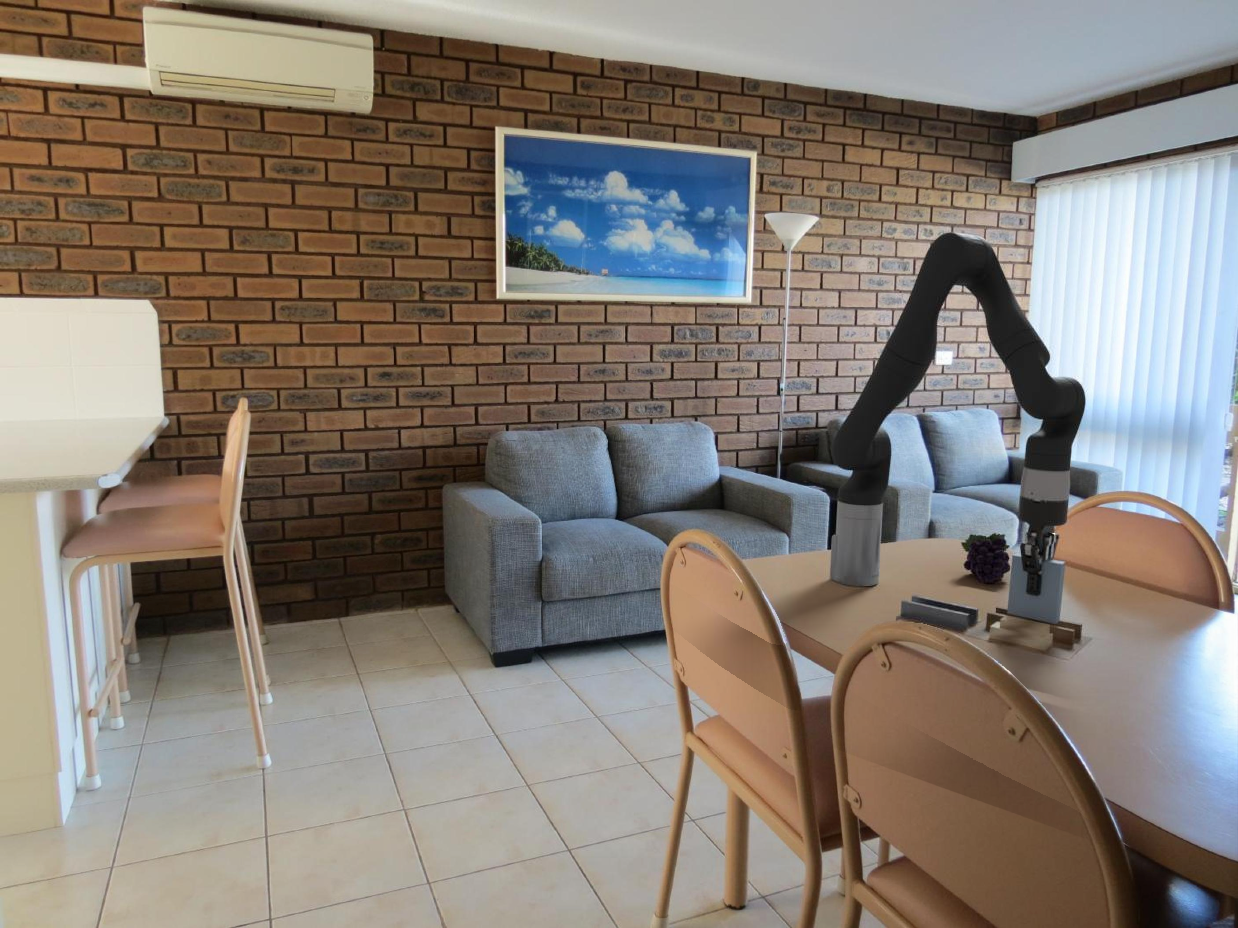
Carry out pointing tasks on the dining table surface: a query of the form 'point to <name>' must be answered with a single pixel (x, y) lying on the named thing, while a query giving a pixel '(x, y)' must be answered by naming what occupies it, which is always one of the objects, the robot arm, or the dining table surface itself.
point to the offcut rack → (1063, 632)
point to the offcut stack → (1022, 632)
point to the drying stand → (939, 613)
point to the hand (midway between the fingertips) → (1035, 592)
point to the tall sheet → (1049, 598)
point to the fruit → (987, 556)
